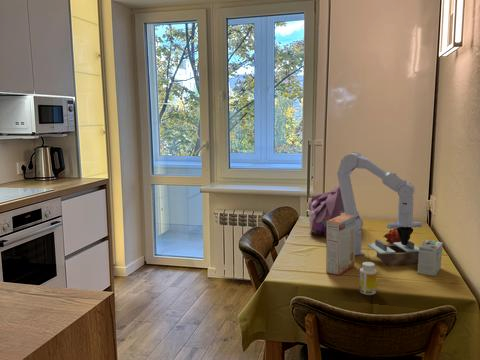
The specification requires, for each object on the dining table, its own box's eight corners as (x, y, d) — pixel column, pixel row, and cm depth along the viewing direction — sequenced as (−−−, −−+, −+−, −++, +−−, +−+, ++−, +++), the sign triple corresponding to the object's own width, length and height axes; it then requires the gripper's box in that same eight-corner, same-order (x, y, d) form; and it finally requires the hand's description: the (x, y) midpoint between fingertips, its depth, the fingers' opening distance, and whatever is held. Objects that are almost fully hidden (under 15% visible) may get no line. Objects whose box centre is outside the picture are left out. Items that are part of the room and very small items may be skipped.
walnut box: (390, 266, 174) (390, 254, 174) (376, 256, 186) (377, 245, 185) (422, 264, 176) (423, 252, 176) (407, 254, 188) (407, 243, 187)
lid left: (379, 254, 173) (380, 246, 173) (366, 245, 185) (367, 238, 184) (395, 253, 174) (395, 245, 173) (381, 244, 186) (382, 237, 185)
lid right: (407, 252, 175) (407, 245, 174) (392, 243, 186) (393, 237, 186) (422, 251, 176) (423, 244, 175) (407, 243, 187) (407, 236, 187)
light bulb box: (423, 265, 175) (424, 239, 174) (441, 268, 172) (443, 242, 170) (417, 273, 167) (418, 246, 165) (435, 276, 163) (437, 249, 161)
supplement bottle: (378, 292, 149) (380, 263, 148) (371, 297, 145) (372, 267, 144) (363, 287, 153) (364, 259, 151) (356, 292, 149) (357, 263, 147)
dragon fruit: (412, 249, 201) (385, 251, 204) (409, 235, 207) (383, 236, 210) (411, 238, 195) (383, 239, 199) (409, 223, 201) (382, 225, 205)
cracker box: (341, 263, 179) (342, 213, 176) (354, 266, 175) (356, 215, 172) (324, 272, 168) (325, 220, 165) (339, 276, 164) (340, 222, 161)
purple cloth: (349, 251, 210) (363, 196, 202) (301, 239, 214) (313, 185, 206) (348, 226, 243) (360, 178, 235) (306, 216, 247) (317, 169, 239)
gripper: (393, 215, 174) (392, 248, 176) (427, 214, 176) (425, 246, 178) (385, 211, 180) (384, 243, 182) (417, 210, 182) (416, 241, 184)
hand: (403, 244), depth 180 cm, fingers closed
